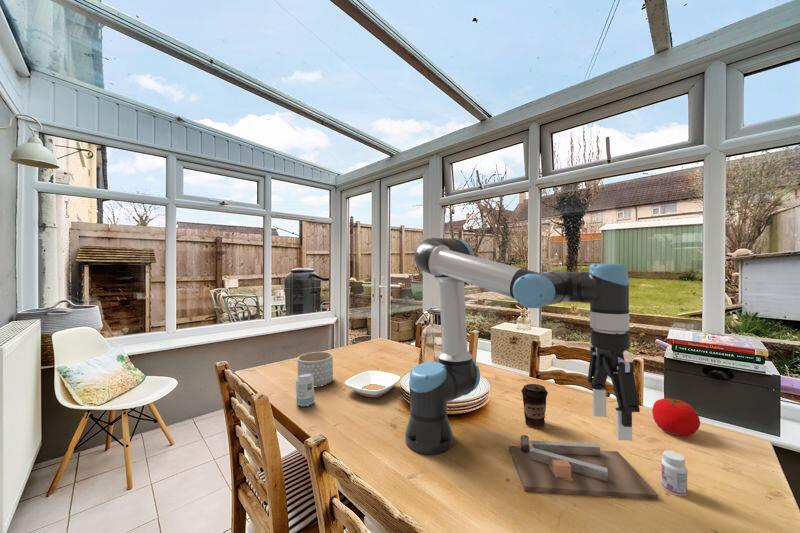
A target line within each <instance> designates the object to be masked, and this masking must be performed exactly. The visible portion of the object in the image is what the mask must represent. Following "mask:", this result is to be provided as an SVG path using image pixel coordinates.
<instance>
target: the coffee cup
mask: <svg viewBox="0 0 800 533" xmlns="http://www.w3.org/2000/svg"><path fill="white" fill-rule="evenodd" d="M520 392H521V394H522V402H523V403H522V404H523V413H524V420H525V421H524V423H525V425H526V426H528V427H531V428H534V429H542V428H545V427H546V423H545V422H546V421H545V418H546V408H547V397H548V394H549V393H548V390H547V389H546V387H545V386H544V385H542V384H538V383H528V384H525V385H523V387H522V388H521V391H520Z"/></svg>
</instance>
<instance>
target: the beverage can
mask: <svg viewBox="0 0 800 533" xmlns="http://www.w3.org/2000/svg"><path fill="white" fill-rule="evenodd" d="M295 388H296V389H295V392H296V394H295V395H296V398H295V399H296V400H295V401H296V405H297V406H299V405H300V406H299V407H301V406H307V405H310V404H311V405H312V404H313V403H314V402H315V388H314V378H313V376H312V374H311V373H301V374H299V375H298V374H297V377H296V379H295ZM311 405H310V406H311ZM307 407H308V406H307Z"/></svg>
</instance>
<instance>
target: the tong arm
mask: <svg viewBox="0 0 800 533" xmlns="http://www.w3.org/2000/svg"><path fill="white" fill-rule="evenodd" d="M530 447H531V446H530ZM530 459H531V460H535V461H538V462H542V463H545V464H548V465H552V466H553V460H567V461H568V462H569V464H570V465H571V471H572V472H576V473H579V474H583V475H586V476H589V477H593V478H596V479H600V480H603V481H606V482H608V471H607V468H605V467H601V466H598V465H594V464H590V463H587V462H583V461H580V460H576V459H572V458H569V457H565V456H561V455H558V454H554V453H550V452H547V451H543V450H539V449H536V448H532V447H531V449H530Z"/></svg>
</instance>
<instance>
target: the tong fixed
mask: <svg viewBox="0 0 800 533" xmlns="http://www.w3.org/2000/svg"><path fill="white" fill-rule="evenodd" d="M529 441H530V442H529ZM530 443H531V444H530ZM520 447H521V451H522V452H524V453H529V447H532V448H536V449H539V450H543V451H547V452H550V453H556V454H575V455H595V456H600V451H601V446H599V444H598V443H592V442H591V443H590V442H574V441H573V442H571V441H548V440H530V438H529V436H528V435H526V434H521V435H520Z"/></svg>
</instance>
